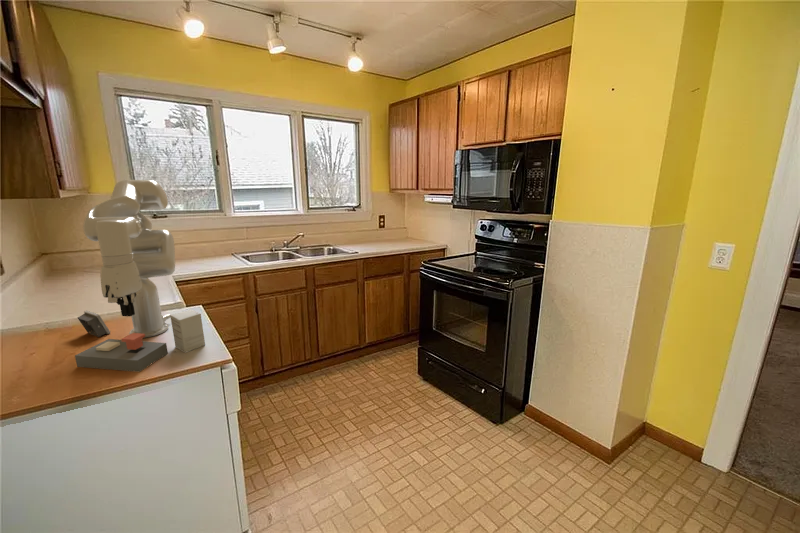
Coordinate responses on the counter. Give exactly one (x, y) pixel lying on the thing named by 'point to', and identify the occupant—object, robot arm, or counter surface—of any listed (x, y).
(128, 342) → the red plug
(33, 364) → the counter surface
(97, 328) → the electrical switch
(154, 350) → the plug panel
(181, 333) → the supplement box
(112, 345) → the ivory plug
